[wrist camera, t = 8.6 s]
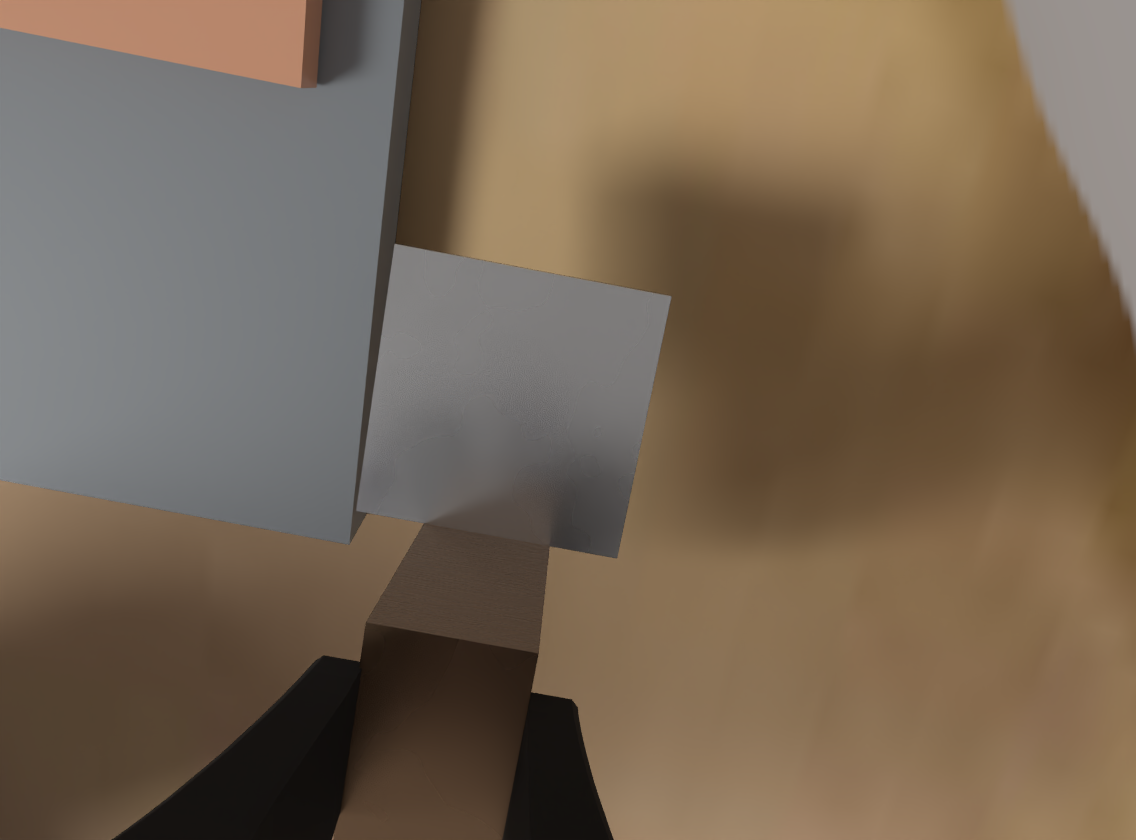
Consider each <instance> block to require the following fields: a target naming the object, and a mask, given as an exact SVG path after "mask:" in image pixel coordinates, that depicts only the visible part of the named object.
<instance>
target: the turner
mask: <svg viewBox="0 0 1136 840" xmlns="http://www.w3.org/2000/svg"><path fill="white" fill-rule="evenodd" d="M670 301H671V296H669V295H665V294H660V293H655V292H649V291H644V290H639V289H634V288H628V287H623V286H618V285H612V284H607V283H602V282H597V281H591V280H586V279H581V278H575V277H570V276H565V275H560V274H554V273H549V272H544V271H539V270H533V269H528V268H523V267H517V266H512V265H507V264H502V263H496V262H491V261H486V260H480V259H475V258H470V257H465V256H459V255H454V254H449V253H444V252H438V251H433V250H428V249H422V248H417V247H412V246H407V245H401V244H395V245H394V251H393V258H392V265H391V272H390V279H389V286H388V293H387V300H386V307H385V314H384V321H383V328H382V335H381V342H380V349H379V356H378V363H377V369H376V376H375V383H374V390H373V397H372V404H371V411H370V418H369V425H368V432H367V439H366V446H365V453H364V460H363V467H362V474H361V481H360V487H359V494H358V501H357V508H356V511H359V512H365V513H370V514H376V515H381V516H387V517H392V518H398V519H403V520H409V521H414V522H420V523H424V525H423V526H422V528H421V530H420V531H419V533H418V535H417V537H416V538H415V540H414V542H413V543H412V545H411V547H410V549H409V550H408V552H407V554H406V555H405V557H404V559H403V560H402V562H401V564H400V566H399V567H398V569H397V571H396V572H395V574H394V576H393V577H392V579H391V581H390V583H389V584H388V586H387V588H386V589H385V591H384V593H383V594H382V596H381V598H380V600H379V601H378V603H377V605H376V606H375V608H374V610H373V611H372V613H371V615H370V617H369V618H368V620H367V622H366V626H365V633H364V639H363V646H362V653H361V659H360V666H359V668H362V671H361V678H360V684H359V691H358V698H357V704H356V711H355V717H354V724H353V731H352V737H351V744H350V751H349V757H348V764H347V770H346V777H345V784H344V790H343V797H342V804H341V810H340V815H339V818H338V821H337V825H336V828H335V832H334V839H333V840H502V839H503V834H504V829H505V824H506V819H507V813H508V808H509V803H510V798H511V793H512V788H513V782H514V777H515V772H516V767H517V762H518V757H519V751H520V746H521V741H522V736H523V731H524V726H525V720H526V715H527V710H528V705H529V700H530V695H531V689H532V684H533V679H534V674H535V669H536V664H537V658H538V653H539V644H540V634H541V624H542V614H543V605H544V595H545V585H546V576H547V566H548V556H549V547H550V546H552V547H557V548H563V549H568V550H574V551H579V552H585V553H590V554H595V555H601V556H606V557H612V558H617V556H618V551H619V547H620V542H621V537H622V532H623V527H624V523H625V518H626V513H627V508H628V503H629V498H630V494H631V489H632V484H633V479H634V474H635V470H636V465H637V460H638V455H639V450H640V446H641V441H642V436H643V431H644V426H645V421H646V417H647V412H648V407H649V402H650V397H651V393H652V388H653V383H654V378H655V373H656V369H657V364H658V359H659V354H660V349H661V344H662V340H663V335H664V330H665V325H666V320H667V316H668V311H669V306H670Z"/></svg>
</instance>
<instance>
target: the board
mask: <svg viewBox="0 0 1136 840" xmlns="http://www.w3.org/2000/svg"><path fill="white" fill-rule="evenodd" d="M420 8H421V0H322V15H321V30H320V44H319V59H318V74H317V88H298V87H293V86H288V85H283V84H278V83H273V82H268V81H263V80H258V79H253V78H248V77H243V76H238V75H233V74H228V73H223V72H218V71H213V70H208V69H203V68H198V67H193V66H188V65H183V64H178V63H173V62H168V61H163V60H158V59H153V58H148V57H144V56H139V55H134V54H129V53H124V52H119V51H114V50H109V49H104V48H99V47H94V46H89V45H84V44H79V43H74V42H69V41H64V40H59V39H54V38H49V37H44V36H39V35H34V34H29V33H24V32H19V31H14V30H9V29H4V28H0V480H2V481H8V482H13V483H19V484H24V485H29V486H35V487H40V488H46V489H51V490H56V491H62V492H67V493H73V494H78V495H83V496H89V497H94V498H100V499H105V500H110V501H116V502H121V503H127V504H132V505H138V506H143V507H148V508H154V509H159V510H165V511H170V512H175V513H181V514H186V515H192V516H197V517H202V518H208V519H213V520H219V521H224V522H229V523H235V524H240V525H246V526H251V527H256V528H262V529H267V530H273V531H278V532H283V533H289V534H294V535H300V536H305V537H310V538H316V539H321V540H327V541H332V542H337V543H343V544H348V545H349V544H350V543H351V541H352V539H353V537H354V535H355V534H356V532H357V530H358V528H359V526H360V525H361V523H362V521H363V519H364V518H365V516H366V513H365V512H359V511H356V508H357V501H358V494H359V487H360V481H361V474H362V467H363V460H364V453H365V446H366V439H367V432H368V425H369V418H370V411H371V404H372V397H373V390H374V383H375V376H376V369H377V363H378V356H379V349H380V342H381V335H382V328H383V321H384V314H385V307H386V300H387V293H388V286H389V279H390V272H391V265H392V258H393V251H394V245H395V240H396V231H397V222H398V212H399V203H400V194H401V184H402V175H403V166H404V157H405V147H406V138H407V129H408V120H409V110H410V101H411V92H412V82H413V73H414V64H415V55H416V45H417V36H418V27H419V17H420Z"/></svg>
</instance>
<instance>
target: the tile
mask: <svg viewBox="0 0 1136 840" xmlns="http://www.w3.org/2000/svg"><path fill="white" fill-rule="evenodd" d="M321 15H322V0H0V28H4V29H9V30H14V31H19V32H24V33H29V34H34V35H39V36H44V37H49V38H54V39H59V40H64V41H69V42H74V43H79V44H84V45H89V46H94V47H99V48H104V49H109V50H114V51H119V52H124V53H129V54H134V55H139V56H144V57H148V58H153V59H158V60H163V61H168V62H173V63H178V64H183V65H188V66H193V67H198V68H203V69H208V70H213V71H218V72H223V73H228V74H233V75H238V76H243V77H248V78H253V79H258V80H263V81H268V82H273V83H278V84H283V85H288V86H293V87H298V88H317V74H318V59H319V44H320V30H321Z"/></svg>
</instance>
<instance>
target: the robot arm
mask: <svg viewBox="0 0 1136 840" xmlns="http://www.w3.org/2000/svg"><path fill="white" fill-rule="evenodd" d="M359 666H360V662H357V661H352V660H346V659H340V658H335V657H329V656H322V657H321V658H319V659H317V660H316V661H315V662H314V663H313V664H312V665H311V666H310V667H309V668H308V669H307V671H306V672H305V673H304V674H303V675H302V676H301V677H300V678H299V679H298V680H297V681H296V682H295V683H294V684H293V685H292V686H291V687H290V688H289V689H288V691H287V692H286V693H285V694H284V695H283V696H282V697H281V698H280V699H279V700H278V701H277V702H276V703H275V704H273V705H272V706H271V707H270V708H269V709H268V710H267V711H266V712H265V713H264V714H263V715H262V716H261V717H260V718H259V719H258V720H257V721H256V722H255V723H254V724H253V725H252V726H250V727H249V728H248V729H247V730H246V731H245V732H244V733H243V734H242V735H241V736H240V737H239V738H237V739H236V740H235V741H234V742H233V743H232V744H231V745H230V746H229V747H228V748H227V749H225V750H224V751H223V752H222V753H221V754H220V755H219V756H218V757H216V758H215V759H214V760H213V761H212V762H211V763H209V764H208V765H207V766H206V767H205V768H203V769H202V770H201V771H200V772H199V773H197V774H196V775H195V776H194V777H193V778H191V779H190V780H189V781H188V782H186V783H185V784H184V785H183V786H182V787H180V788H179V789H178V790H177V791H176V792H174V793H173V794H172V795H171V796H170V797H168V798H167V799H166V800H165V801H163V802H162V803H161V804H159V805H158V806H157V807H156V808H154V809H153V810H152V811H150V812H149V813H148V814H146V815H145V816H144V817H142V818H141V819H140V820H138V821H137V822H136V823H134V824H133V825H132V826H130V827H129V828H128V829H126V830H125V831H123V832H122V833H121V834H119V835H118V836H116V837H115V838H114V839H112V840H332V837H333V834H334V831H335V828H336V825H337V821H338V818H339V815H340V810H341V804H342V797H343V790H344V784H345V777H346V770H347V764H348V757H349V751H350V744H351V737H352V731H353V724H354V717H355V711H356V704H357V698H358V691H359V684H360V678H361V671H362V668H359ZM503 840H614V839H613V836H612V834H611V831H610V828H609V825H608V822H607V819H606V816H605V813H604V811H603V808H602V805H601V802H600V799H599V796H598V793H597V790H596V786H595V783H594V780H593V776H592V773H591V769H590V765H589V762H588V758H587V754H586V750H585V746H584V742H583V737H582V733H581V727H580V722H579V716H578V707H577V706H576V705H575V703H574V702H573V701H572V699H566V698H560V697H555V696H549V695H543V694H538V693H532V692H531V695H530V700H529V705H528V710H527V715H526V720H525V726H524V731H523V736H522V741H521V746H520V751H519V757H518V762H517V767H516V772H515V777H514V782H513V788H512V793H511V798H510V803H509V808H508V813H507V819H506V824H505V829H504V834H503Z"/></svg>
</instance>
